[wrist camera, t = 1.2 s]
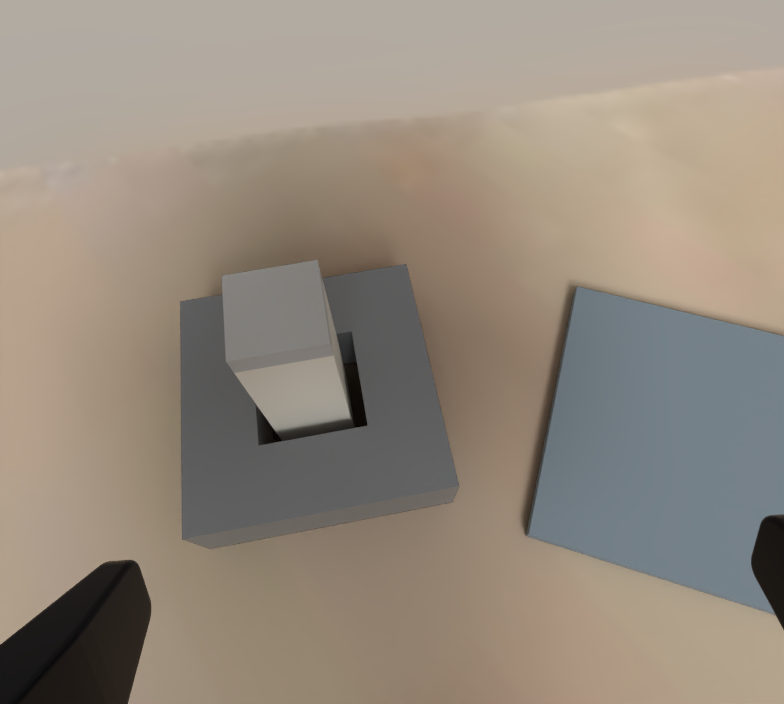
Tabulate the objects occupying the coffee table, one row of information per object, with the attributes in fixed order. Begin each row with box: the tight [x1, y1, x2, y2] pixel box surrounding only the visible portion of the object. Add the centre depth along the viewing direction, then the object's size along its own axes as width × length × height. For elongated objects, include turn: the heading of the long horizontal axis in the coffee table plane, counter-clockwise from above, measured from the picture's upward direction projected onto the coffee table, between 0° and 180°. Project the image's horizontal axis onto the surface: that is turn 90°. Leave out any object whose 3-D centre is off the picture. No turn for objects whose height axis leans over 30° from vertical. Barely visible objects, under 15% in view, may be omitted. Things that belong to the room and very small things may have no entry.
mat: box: [526, 286, 784, 615], centre depth 23 cm, size 12×12×1 cm
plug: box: [222, 260, 355, 441], centre depth 20 cm, size 3×3×9 cm
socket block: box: [180, 264, 459, 549], centre depth 23 cm, size 10×10×3 cm
